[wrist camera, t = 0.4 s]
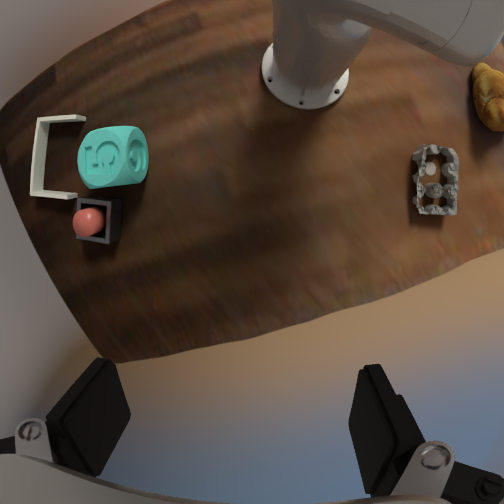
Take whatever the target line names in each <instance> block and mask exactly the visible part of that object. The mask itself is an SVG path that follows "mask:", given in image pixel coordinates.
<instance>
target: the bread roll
mask: <svg viewBox="0 0 504 504" xmlns="http://www.w3.org/2000/svg"><path fill="white" fill-rule="evenodd" d="M472 81H473V90H472V94H473V101H474V106H475V109H476V112H477V114H478V117H479V119H480V120H481V121H482V122H483V124H484V125H485V126H487V127H488V128H490V129H491V130H492V131H504V74H502V73H501V72H499V71H497V70H492V69H491V68H490V67H489V66H488V65H486V64H484V63H477V64H476V65H475V66H474V67H473V69H472Z"/></svg>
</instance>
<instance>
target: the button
mask: <svg viewBox="0 0 504 504" xmlns="http://www.w3.org/2000/svg"><path fill="white" fill-rule="evenodd" d="M105 224H106V217H105V214H104V212H103V211H102V210H101V209H100V208H98V207H91V208H87V209H83V210H79V211H78V212H76V214H75V215H74V218H73V227H74V230H75V232H76V233H77V234H78V235H79V236H81V237H88V236H90V235H93V234H96V233H98V232H100V231H102V230H103V229H104V227H105Z"/></svg>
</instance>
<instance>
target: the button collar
mask: <svg viewBox="0 0 504 504" xmlns="http://www.w3.org/2000/svg"><path fill="white" fill-rule="evenodd" d="M122 203H123V199H117V198H108V197H99V196H85V197H79V198H78V199H77V212H78V211H79V210H83V209H87V208H91V207H93V204H96V205H104V206H107V215H106V232H101V231H100V232H98V233H96V234H93V235H90V236H88V237H81V236H79V235H78V234H77V233H76V238H78V239H83V240H89V241H94V242H100V243H105V244H111V243H113V242H115V241H117V240H119V239H120V236H121V217H122Z"/></svg>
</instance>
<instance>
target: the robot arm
mask: <svg viewBox="0 0 504 504" xmlns="http://www.w3.org/2000/svg"><path fill="white" fill-rule="evenodd" d="M272 2H273V43H272V44H271V45H270V46H269V47H268V48H267V50H266V52H265V54H264V57H263V60H262V75H263V79H264V82H265V84H266V86H267V88H268V89H269V90H270V92H271V93H272V94H273V95H274V96H275V97H276V98H277V99H278V100H280V101H282V102H283V103H285V104H287V105H289V106H292V107H294V108H299V109H306V110H313V109H320V108H323V107H326V106H328V105H330V104H332V103H334V102H335V101H336V100H337V99H338V98H339V97H340V96H341V95H342V94H343V92H344V91H345V89H346V87H347V84H348V81H349V66H350V65H351V64H352V62H353V61H354V60H355V58H356V57H357V56H358V54H359V53H360V52H361V50H362V49H363V48H364V46H365V45H366V43H367V42H368V40H369V38H370V35H371V31H372V28H377V29H379V30H382V31H384V32H386V33H389V34H391V35H393V36H396V37H398V38H400V39H402V40H404V41H407V42H409V43H411V44H413V45H415V46H417V47H419V48H421V49H423V50H425V51H427V52H429V53H431V54H433V55H435V56H437V57H439V58H441V59H443V60H445V61H448V62H450V63H453V64H456V65H462V66H469V65H473V64H476V63H478V62H480V61H482V60H483V59H485V58H486V57H487V56H488V55H489V54H490V53H491V52H492V51H493V50H494V48H495V47H496V46H497V44H498V43H499V41H500V40H501V38H502V36H503V35H504V0H272ZM269 80H272V82H269ZM335 92H337V94H335ZM300 102H302V103H303V105H300V104H299V103H300ZM130 416H131V413H130V409H129V407H128V404H127V401H126V398H125V395H124V391H123V388H122V385H121V382H120V379H119V376H118V372H117V369H116V365H115V364H114V363H112V361H111V360H110V359H105V358H99V357H98V358H96V359H95V360H94V361H93V362H92V363H91V364H90V365H89V367H88V368H87V369H86V370H85V371H84V372H83V373H82V374H81V376H80V377H79V378H78V379H77V380H76V381H75V383H74V384H73V385H72V386H71V387H70V388H69V390H68V391H67V392H66V393H65V394H64V395H63V397H62V398H61V399H60V400H59V401H58V402H57V404H56V405H55V406H54V407H53V408H52V410H51V411H50V412H49V413H48V414H47V416H46V419H47V421H46V422H45V423H44V422H43V421H42V420H40V419H35V418H33V419H32V418H31V419H27V420H24V421H23V422H21V423H20V424H19V425H18V426H17V428H16V429H15V436H13V437H9V438H4V439H0V504H227V503H215V502H206V501H198V500H190V499H184V498H177V497H172V496H165V495H161V494H156V493H151V492H146V491H142V490H138V489H134V488H130V487H125V486H122V485H118V484H114V483H111V482H108V481H104V480H101V479H98V478H96V476H99V475H100V474H101V472H102V470H103V469H104V467H105V465H106V463H107V461H108V459H109V457H110V455H111V453H112V451H113V450H114V448H115V446H116V444H117V442H118V440H119V438H120V437H121V435H122V433H123V431H124V429H125V427H126V425H127V424H128V422H129V420H130ZM349 430H350V434H351V438H352V441H353V445H354V449H355V453H356V457H357V461H358V465H359V469H360V473H361V477H362V481H363V486H364V489H365V493H366V494H370V495H371V498H363V499H355V500H347V501H339V502H329V503H317V504H504V479H503V478H502V477H501V476H500V475H497V474H495V473H491V472H488V471H485V470H481V469H478V468H474V467H471V466H468V465H465V464H462V463H459V462H456V461H455V454H454V451H453V450H452V448H451V447H450V446H449V445H447V444H446V443H443V442H440V441H428V442H426V441H425V439H424V438H423V435H422V433H421V431H420V429H419V427H418V425H417V423H416V421H415V419H414V417H413V416H412V413H411V411H410V410H409V408H408V406H407V404H406V402H405V400H404V398H403V397H402V395H399V394H398V395H396V394H395V392H394V390H393V388H392V386H391V384H390V382H389V380H388V378H387V376H386V374H385V372H384V370H383V368H382V367H381V365H380V364H372V365H365V366H364V368H363V369H361V370H359V374H358V379H357V384H356V389H355V394H354V399H353V403H352V408H351V412H350V417H349Z"/></svg>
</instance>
